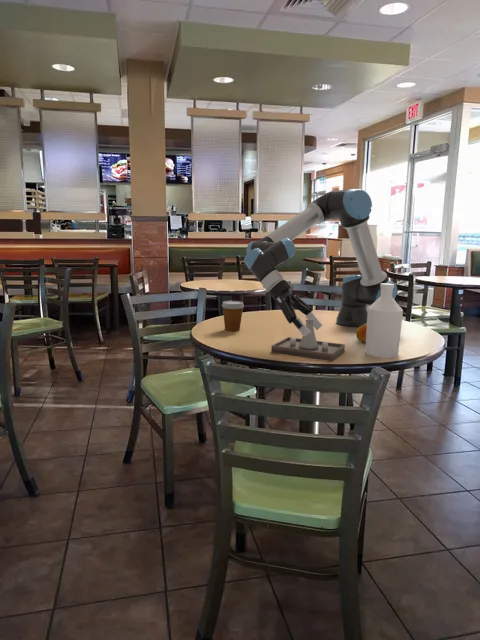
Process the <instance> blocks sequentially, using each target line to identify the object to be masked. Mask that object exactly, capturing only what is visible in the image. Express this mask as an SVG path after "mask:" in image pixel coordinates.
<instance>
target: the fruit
mask: <svg viewBox="0 0 480 640" xmlns="http://www.w3.org/2000/svg"><path fill="white" fill-rule="evenodd" d="M366 331H367V323H365V324H364V325H362V326H360V327H357V329H356V330H355V336H356V338H357V340H358V341H359V342H361V343H365V344H366Z"/></svg>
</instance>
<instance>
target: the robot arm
mask: <svg viewBox="0 0 480 640" xmlns="http://www.w3.org/2000/svg"><path fill="white" fill-rule="evenodd" d="M372 207H373V202H372V199H371V196H370V195H369V193H368V192H367V191H366V190H363V189H360V188H350V189H339V190H337V189H336V190H330V191H328V192H326V193H324V194H322V195H321V196H319V197H317V198H315V199H314V200H312V201H311V202H310V203H309V204H307V205H306V208H305V209H304V210H303V211H301V212H299V213H298V214H296V215H295V216H294V217H292V218H291V219H289V220H287V221H286V222H285V223H283V224H281V225H280V226H279V227H277V228H276V229H274V230H273V231H271V232H270V233H268V234H267V235H265V236H263V237H262V238H260V239H259V240H254V241H251V242H249V243H248V244H247V246H246V250H245V252H246V255H245V256H244V258H243V262H244V264H245V266H246V267H247V268H248V270H249V271H250V272H251V273H252V274H253V275H254V277H255V278H256V279H257V280H258V281H259V283H260V284H261V285H262V287H263V289H265V290H266V291H267V292H269V293H268V294H269V295H270V296H271V297H272V299H273V300H274V301H275V302H276V303H277V305H278V306H279V307H280V310H281V312H282V314H283V316H284V317H285V319H286V321H287V322H288V324H293V325H294V326H295V328H296V329H297V330H298V331H299V332H300V334H301V335H302V337H303V336H304V337H306V336H307V335H308V334H309V333H310V330H309V329H308V328H307V327H306V323H304V322H303V320H301V318H300V317H297V314H296V311H295V309H296V310H298V311H299V312H301V313H302V314H303V315H305V318H306V320H307V319H311V320H314V324H313V327H314V330H316V331H318V330H319V329H320V328H322V327H323V324H322V323H321V322H320V320H319V319H318V317H316V316H315V314H314V313H313V311H314V309H313V308H312V307H311V306H309V304H307V302H305V301H304V300H303V299H302V298H300V296H298V295H297V294H296V293H295V292H294V291H293V292H290V290H291V288H292V287H291V285H290V284H289V283H288V282H287V280H286V279H284V276H283V275H282V274H281V273H280V272H279V271H278V269H277V267H278V266H280V265H282V264H283V263H285V262H286V261H289V260H290V259H291V258H292V257H294V256H295V254H296V246H295V243H294V242H293V241H294V240H295V239H297V238H298V237H300V236H301V235H303V233H305V232H307V231H308V230H310V229H311V228H312V227H314V226H316V225H321V224H322V223H324V222H325V221H330V220H339V223H340V225H341V227H342V228H343V229H345V230H346V231H347V235H348V239H349V241H350V244H351V247H352V250H353V253H354V255H355V260H356V261H357V265H358V269H359V272H360V274H357V275H345V276H344V277H343V279H342V283H341V305H340V308H339V312H338V314H337V317H336V321H335V322H336V324H337V325H340V326H345V327H355V328H359V327H360V326H362V325H364V324H365V323H367V314H368V306H371V305H372V304H373V303H374V302H375V301H376V300H377V299H378V298H379V297H380V296H381V287H380V285H381V283H389V284H394V288H393V293H392V298H393V299H394V300H395V299H396V296H397V294H398V286H397V284H396V283H395V282H394V281H392V280H389V277H388V274H387V273H386V271H383V270H382V267H381V263H380V260H379V256H378V254H377V250H376V247H375V244H374V240H373V237H372V234H371V231H370V228H369V224H368V221H369V219H370V214H371V212H372ZM395 301H396V300H395ZM367 305H368V306H367ZM294 308H295V309H294Z"/></svg>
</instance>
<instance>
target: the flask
mask: <svg viewBox="0 0 480 640" xmlns="http://www.w3.org/2000/svg"><path fill="white" fill-rule="evenodd" d="M313 324H314V320H311V319H307V318H306V319H305V326H306V327H307V328H308V329H309V330H310V333H309V334H308V335H307V336H306V337H304V336H303V335H302V336H301V338H300V339H301V341H300V344H299V348H304V349H317V348H319V347H318V344H317V341H318V340H317V337H316V334H315V327H314V326H313Z"/></svg>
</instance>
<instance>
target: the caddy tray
mask: <svg viewBox="0 0 480 640" xmlns="http://www.w3.org/2000/svg"><path fill="white" fill-rule="evenodd" d="M301 339H302V338H299V337H298V338H297V337H292V336H291V337H290V336H288V337H285V338H283V339H282V340H280V341H278V342H275V343H274V344H272V345H271V347H270V348H271V350H270V351H271V353H272V354H273V353H274V354H278V355H279V354H280V355H287V356H291V357H293V356H294V357H300V358H306V359H307V358H308V359H313V360H319V361H320V360H321V361H327V362H333V361H335V360H336V359H337V358H338V357H339V356H341V355H342V354H344V352H345V350H346V344H345V343H338V342H337V343H336V342H330V341H329V342H327V341H322V340H316V341H317V344H318V347H319V348H317V349H304V348H299V344H300V341H301Z"/></svg>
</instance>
